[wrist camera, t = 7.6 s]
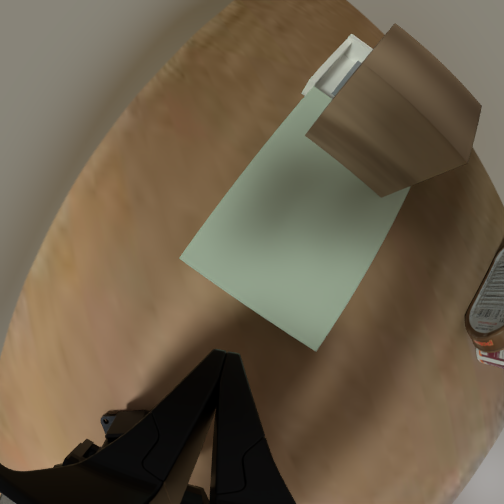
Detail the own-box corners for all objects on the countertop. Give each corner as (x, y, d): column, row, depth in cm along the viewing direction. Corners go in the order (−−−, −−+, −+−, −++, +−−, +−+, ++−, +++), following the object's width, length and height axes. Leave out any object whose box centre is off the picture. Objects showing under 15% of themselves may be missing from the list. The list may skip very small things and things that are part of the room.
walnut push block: (381, 197, 23) (467, 163, 13) (304, 135, 22) (362, 63, 13) (406, 149, 24) (481, 106, 14) (337, 92, 23) (395, 23, 13)
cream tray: (409, 182, 26) (428, 174, 23) (301, 93, 25) (311, 75, 22) (432, 128, 27) (449, 118, 24) (340, 49, 26) (351, 33, 23)
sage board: (307, 345, 24) (315, 351, 22) (181, 259, 22) (179, 258, 21) (404, 177, 26) (417, 172, 24) (306, 97, 25) (313, 85, 23)
